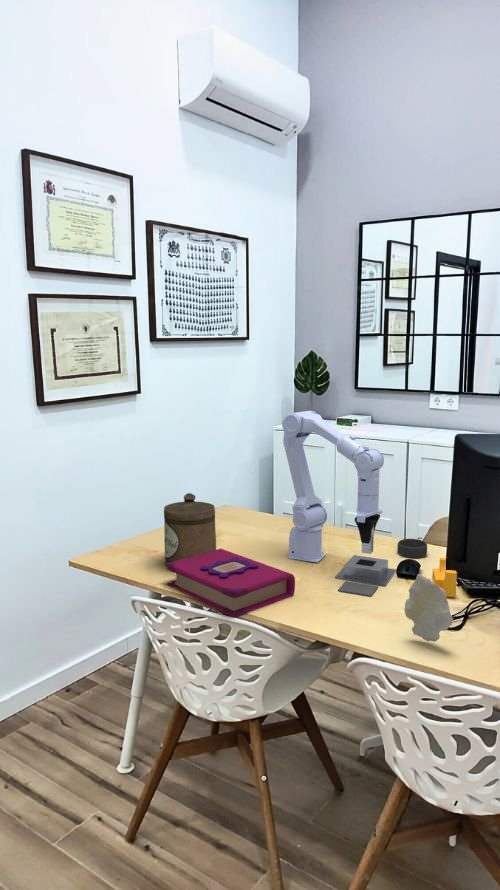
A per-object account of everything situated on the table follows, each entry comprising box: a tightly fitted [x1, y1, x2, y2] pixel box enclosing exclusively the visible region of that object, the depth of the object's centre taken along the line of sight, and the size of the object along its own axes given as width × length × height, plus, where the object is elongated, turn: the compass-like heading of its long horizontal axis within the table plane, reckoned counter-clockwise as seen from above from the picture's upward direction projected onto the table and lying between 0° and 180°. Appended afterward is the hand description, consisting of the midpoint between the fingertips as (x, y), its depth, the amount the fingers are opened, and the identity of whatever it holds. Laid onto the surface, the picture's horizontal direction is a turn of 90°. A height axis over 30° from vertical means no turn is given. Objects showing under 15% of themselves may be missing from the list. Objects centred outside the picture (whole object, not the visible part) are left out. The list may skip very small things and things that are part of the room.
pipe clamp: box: [431, 557, 458, 598], centre depth 172 cm, size 12×4×6 cm, turn 172°
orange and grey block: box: [361, 526, 375, 555], centre depth 180 cm, size 3×3×8 cm
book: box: [166, 548, 296, 618], centre depth 170 cm, size 21×28×8 cm
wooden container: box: [163, 492, 217, 568], centre depth 186 cm, size 15×15×22 cm
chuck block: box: [334, 554, 397, 587], centre depth 182 cm, size 14×13×4 cm
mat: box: [337, 580, 379, 598], centre depth 171 cm, size 9×7×1 cm
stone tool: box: [404, 573, 454, 643], centre depth 141 cm, size 11×4×15 cm, turn 51°
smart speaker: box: [397, 538, 428, 559], centre depth 200 cm, size 9×9×4 cm
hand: (366, 541), depth 181 cm, fingers closed on orange and grey block, 2 cm apart
